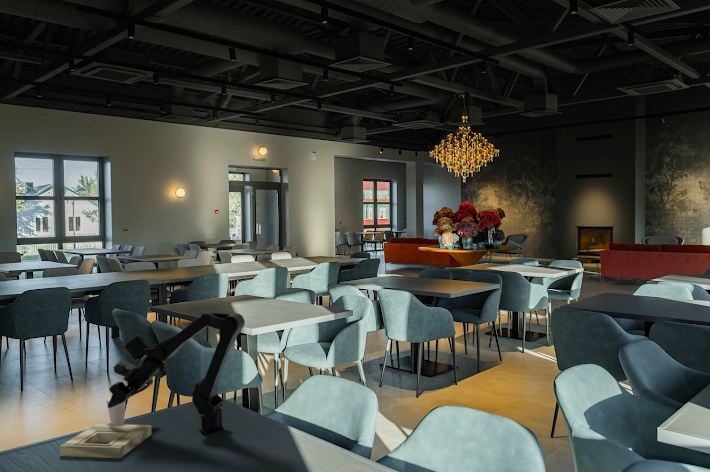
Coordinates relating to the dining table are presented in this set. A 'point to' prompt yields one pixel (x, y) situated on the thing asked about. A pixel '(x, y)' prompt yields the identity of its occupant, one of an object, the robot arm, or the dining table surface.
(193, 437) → the dining table surface
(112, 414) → the smoothie
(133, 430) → the socket board
